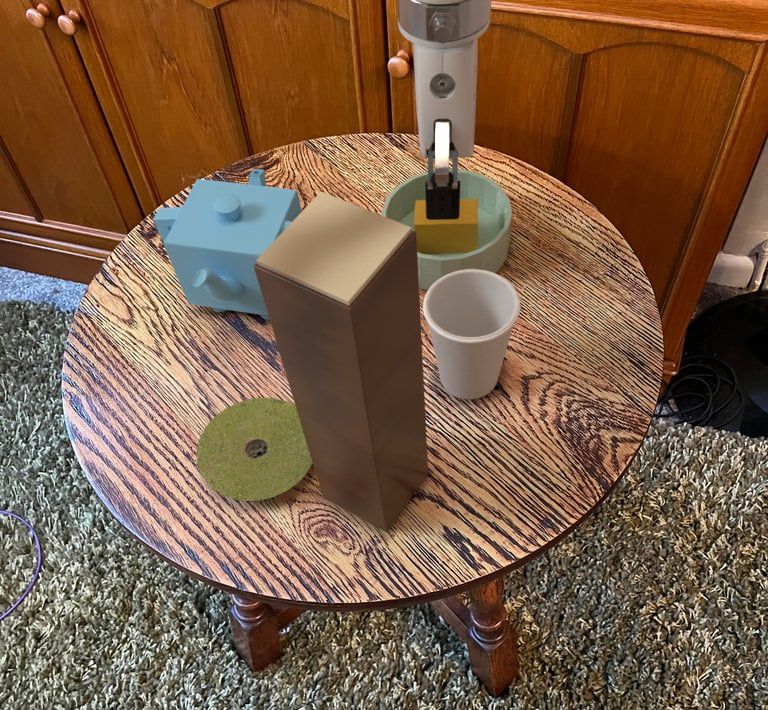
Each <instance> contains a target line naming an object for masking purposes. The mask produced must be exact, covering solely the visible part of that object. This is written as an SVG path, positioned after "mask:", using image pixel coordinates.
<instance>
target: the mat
mask: <svg viewBox="0 0 768 710" xmlns="http://www.w3.org/2000/svg"><path fill="white" fill-rule="evenodd" d="M195 454H196V464H197V467H198V471H199V473H200V476H201V478H202V479H203V480H204V481H205V483H206V484H207V485H208V486H209V487H210V488H212V490H213V491H216V492H217V493H218V494H220V495H222V496H224V497H227V498H228V499H233V500H236V501H244V502H248V501H249V502H256V501H258V502H260V501H264V500H267V499H272V498H273V497H277V496H279V495H281V494H283V493H286V492H287V491H288V490H291V488H293V487H294V486H295V485H297V484H298V483H299V482H301V481H302V479H303V478H304V477H305V476H306V474H307V473H308V472H309V470H310V469H311V467H312V465H313V462H312V459H311V456H310V453H309V449H308V446H307V443H306V439H305V436H304V433H303V429H302V426H301V423H300V419H299V416H298V413H297V409H296V406H295V403H291V402H289V401H288V400H287V401H286V400H283V399H279V398H272V397H256V398H248V399H245V400H241V401H239V402H236V403H234V404H232V405H230V406H228V407H226V408H224V409H223V410H222V411H220V412H219V413H218V414H216V415H215V416H214V417H213V418H212V419H211V420H210V421H209V422H208V423H207V425H205V428H204V429H203V431H202V433H201V435H200V437H199V440H198V443H197V447H196V453H195Z"/></svg>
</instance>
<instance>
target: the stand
mask: <svg viewBox="0 0 768 710" xmlns="http://www.w3.org/2000/svg"><path fill="white" fill-rule="evenodd" d="M301 211H302V212H301V213H300V214H299V215H298V216H297V217H296V219H295V220H294V221H293V222H292V223H291V224H290V225H289V226H288V227H287V228H286V229H285V230H284V231H283V232H282V233H281V234H280V235H279V236H278V238H277V239H276V240H275V241H274V242H273V243H272V244H271V245H270V246H269V247H268V248H267V249H266V250H265V251H264V252H263V253H262V254H261V255H260V257H259V258H258V259H257V263H256V264H255V265H254V270H255V273H256V276H257V280H258V283H259V286H260V290H261V293H262V296H263V300H264V303H265V306H266V310H267V313H268V316H269V319H268V320H269V323H270V326H271V330H272V332H273V335H274V339H275V342H276V346H277V349H278V352H279V356H280V359H281V363H282V366H283V369H284V372H285V376H286V380H287V383H288V386H289V389H290V393H291V395H292V400H293V402H294V403H293V404H294V405H295V406H296V409H297V413H298V416H299V419H300V423H301V426H302V429H303V433H304V436H305V439H306V443H307V446H308V449H309V453H310V456H311V459H312V462H313V463H312V465H313V469H314V472H315V476H316V479H317V482H318V485H319V489H320V492H321V495H322V498H323V499H325V500H327V501H329V502H331V503H332V504H334V505H336V506H338V507H340V508H341V509H343V510H345V511H347V512H349V513H350V514H352V515H354V516H356V517H358V518H359V519H360V520H363V521H365V522H366V523H369V524H370V525H373V526H374V527H375V528H378V529H380V530H381V531H383V532H385V533H388V532H389V530H390V529H391V527H392V526H393V525H394V523H395V522H396V521H397V519H398V518H399V517H400V515H401V514H402V512H403V511H404V510H405V508H406V506H407V505H408V504H409V502H410V501H411V500H412V498H413V497H414V495H415V494H416V493H417V491H418V489H419V488H421V486H422V483H423V482H424V481H425V480H426V478H427V477H428V475H429V458H428V439H427V438H428V437H427V436H428V435H427V419H426V400H425V399H426V398H425V379H424V359H423V340H422V337H423V336H422V322H421V319H422V318H421V300H420V288H419V277H418V257H417V237H416V232H415V231H412V228H411V227H409V226H407V225H404V224H402V223H399V222H397V221H394V220H392V219H389V218H387V217H384V216H382V215H381V214H379V213H377V212H374V211H371V210H369V209H366V208H364V207H361V206H358V205H356V204H354V203H352V202H350V201H346V200H344V199H341V198H339V197H336V196H334V195H331V194H329V193H326V192H324V191H320V192H319V193H318V194H317V195H316V196H315V197H314V198H313V199H312V201H310V202H309V204H307V206H305V208H304V209H303V210H301Z"/></svg>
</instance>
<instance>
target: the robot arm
mask: <svg viewBox="0 0 768 710" xmlns="http://www.w3.org/2000/svg"><path fill="white" fill-rule="evenodd" d="M396 12H397V13H396V14H397V27H398V30H399V32H400V33H401V36H403V38H405V39H406V40H408V41H409V42H411V43H412V50H413V71H414V92H415V93H414V94H415V109H416V119H417V131H418V143H419V153H420V155H421V156H422V157H423V158H424V159H426V160H427V171H428V181H425V194H426V218H427V219H429V220H452V219H458V218H459V215H460V181H458V169H459V158H460V159H461V158H466V159H470V158H471V157H472V156H473V155H474V153H475V137H476V135H475V134H476V132H475V131H476V112H477V111H476V110H477V85H478V58H479V57H478V55H479V54H478V53H479V52H478V51H479V49H478V45H479V44H478V39H479V38H481V36H483V35H484V34H485V33H486V31H487V30H488V28H489V27H490V24H491V16H492V15H491V14H492V0H396ZM450 159H451V160H452V161H451V168H452V173H451V172H449V168H450ZM434 170H435V172H434Z"/></svg>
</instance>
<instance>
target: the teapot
mask: <svg viewBox="0 0 768 710" xmlns="http://www.w3.org/2000/svg"><path fill="white" fill-rule="evenodd" d="M302 211H303V210H302V206H301V201H300V197H299V192H298V190H296V189H290V188H283V187H275V186H267V179H266V171H265V169H259V168H254V169H253V170H252V171H251V172H250V173H249V178H248V183H239V182H229V181H221V180H211V179H201V178H198V179H197V178H196V180H195V182H194V184H193V186H192V188H191V190H190V191H189V193H188V195H187V197H186V198H185V201H184V203H183V204H182V206H177V207H176V206H171V207H170V206H169V207H159V208H158V210H157V211H156V213H155V214H154V217H153V218H152V219H153V220H152V221H153V223H154V226H155V228H156V230H157V232H158V234H159V236H160V238H161V241H162V243H163V246H164V250H165V251H166V254H167V256H168V259H169V261H170V263H171V264H170V265H172V269H173V270H174V273H175V275H176V277H177V280H178V283H179V285H180V287H181V290H182V292H183V294H184V296H185V299H186V301H187V303H188V305H192V306H200V307H205V308H210V309H211V311H213V312H216V313H223V312H226V311H234V312H240V313H246V314H247V313H248V314H254V315H259V316H260V317H261V319H264V320H270V319H269V316H268V313H267V310H266V306H265V303H264V300H263V296H262V293H261V290H260V286H259V283H258V280H257V276H256V273H255V270H254V265H255V264H256V263H257V259H258V258H259V257H260V255H261V254H262V253H263V252H264V251H265V250H266V249H267V248H268V247H269V246H270V245H271V244H272V243H273V242H274V241H275V240H276V239H277V238H278V236H279V235H280V234H281V233H282V232H283V231H284V230H285V229H286V228H287V227H288V226H289V225H290V224H291V223H292V222H293V221H294V220H295V219H296V217H297V216H298V215H299V214H300V213H301V212H302Z"/></svg>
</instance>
